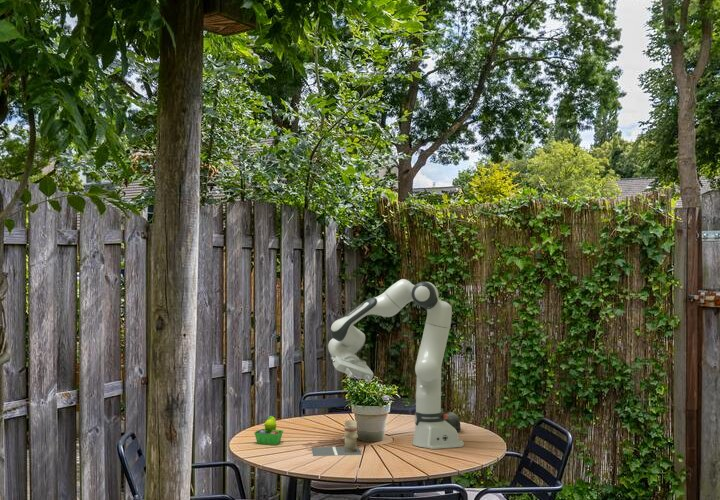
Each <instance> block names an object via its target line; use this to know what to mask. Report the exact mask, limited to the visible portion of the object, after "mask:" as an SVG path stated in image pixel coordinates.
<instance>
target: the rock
mask: <svg viewBox="0 0 720 500" xmlns="http://www.w3.org/2000/svg"><path fill="white" fill-rule="evenodd" d="M444 414H447V415H448V419H445V421H446V422H448V423H449V424H450V425H451V426H453V427H454V428H455V429H456V430H457V432H460V431H461V421H460V418H459V416H458V415H457V413H455V412H452V411H447V412H444Z"/></svg>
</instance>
